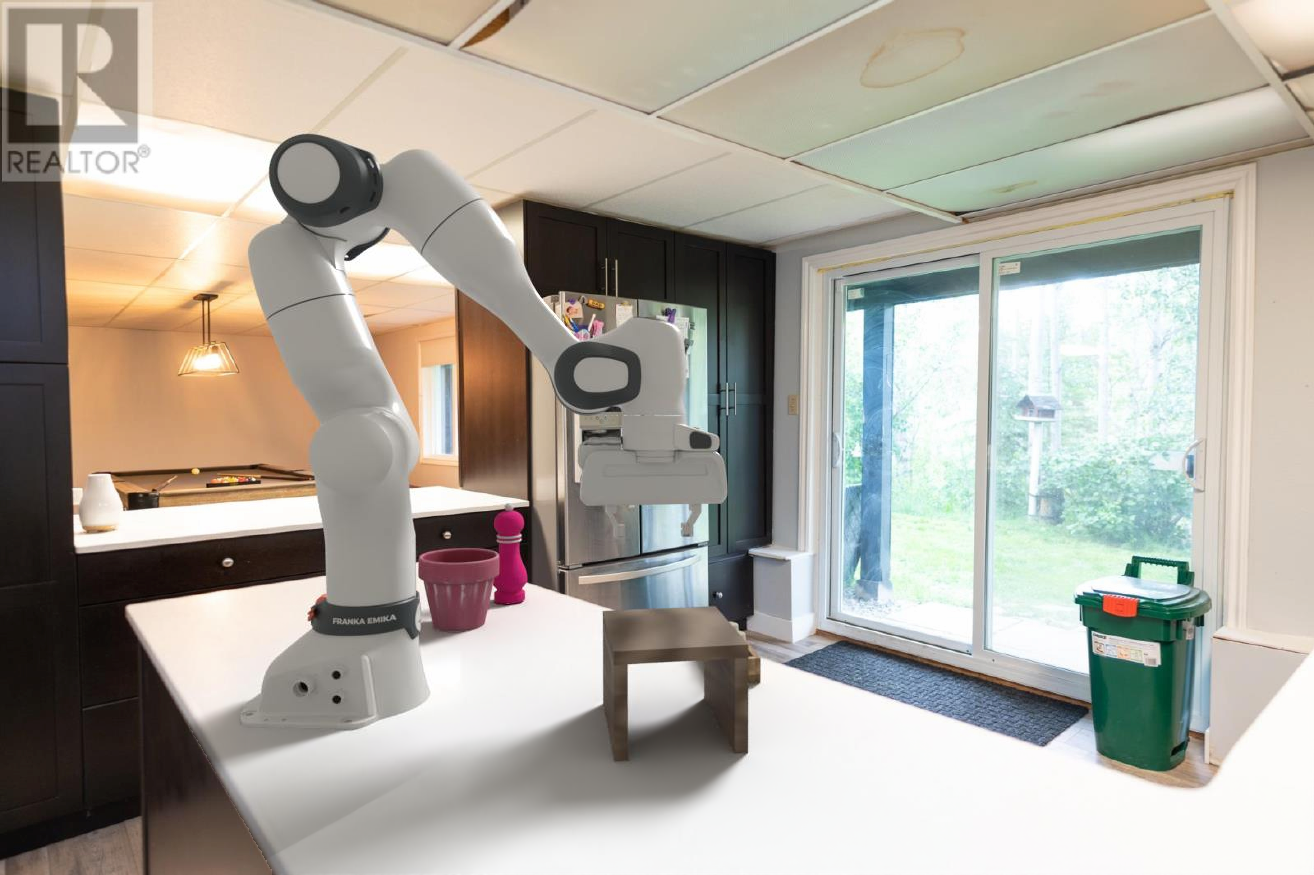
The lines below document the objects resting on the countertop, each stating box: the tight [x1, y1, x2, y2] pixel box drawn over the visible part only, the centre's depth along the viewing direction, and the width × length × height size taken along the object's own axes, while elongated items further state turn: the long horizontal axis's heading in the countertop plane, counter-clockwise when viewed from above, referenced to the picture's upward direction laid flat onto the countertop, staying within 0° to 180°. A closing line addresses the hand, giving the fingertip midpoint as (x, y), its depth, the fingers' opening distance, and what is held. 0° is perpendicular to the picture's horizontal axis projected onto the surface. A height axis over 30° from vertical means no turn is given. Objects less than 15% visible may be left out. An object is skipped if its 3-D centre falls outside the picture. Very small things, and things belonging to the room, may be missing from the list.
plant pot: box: [417, 547, 499, 632], centre depth 129 cm, size 14×14×13 cm
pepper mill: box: [493, 502, 528, 605], centre depth 146 cm, size 7×7×20 cm
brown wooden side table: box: [602, 605, 749, 763], centre depth 86 cm, size 15×16×12 cm
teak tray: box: [729, 621, 762, 684], centre depth 109 cm, size 6×18×6 cm, turn 7°
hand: (653, 537), depth 98 cm, fingers open, 8 cm apart
